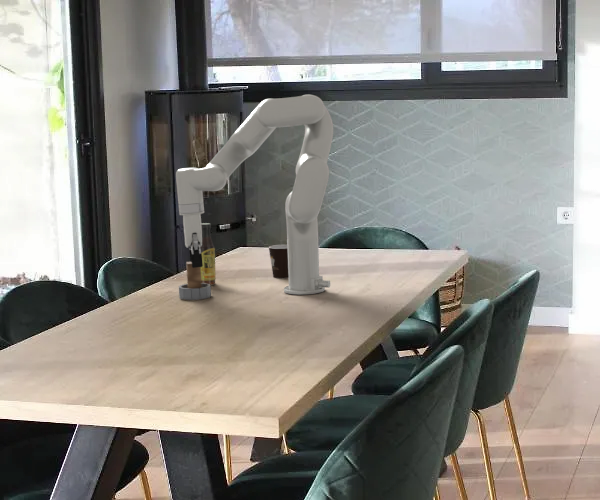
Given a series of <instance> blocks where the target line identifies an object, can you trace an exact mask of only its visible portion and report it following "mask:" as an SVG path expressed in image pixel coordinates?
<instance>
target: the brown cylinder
mask: <svg viewBox="0 0 600 500" xmlns="http://www.w3.org/2000/svg"><path fill="white" fill-rule="evenodd" d="M185 264H186V266H185V267H186V280H187V281H186V282H187V283H186V284H187V286H188V288H202V286H201V267H196V268H193V267H192V262H190V261H186V263H185Z"/></svg>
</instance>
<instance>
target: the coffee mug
mask: <svg viewBox="0 0 600 500" xmlns="http://www.w3.org/2000/svg"><path fill="white" fill-rule="evenodd" d="M268 250H269V257H270V265H271V271H272V277H273V278H274V279H275V278H276V279H287V278H288V279H289V276H288V249H287V244H275V245H270V246H268Z"/></svg>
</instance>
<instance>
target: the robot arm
mask: <svg viewBox="0 0 600 500" xmlns="http://www.w3.org/2000/svg"><path fill="white" fill-rule="evenodd" d="M297 126H304V136H303V141H302V145H301V149H300V154H299V157H298V159H297V163H296V166H295V180H294V184H293V186H292V187H293V188H292V191H291V192H289V194H288V195H287V196H286V199H285V205H284V207H285V219H286V220H285V221H286V223H285V224H286V238H287V239H286V243H287V244H286V245H287V249H288V276H289V278H288V285H287V286H284V287H283V292H284V293H286V294H290V295H300V296H301V295H303V296H304V295H314V294H320V293H323V292H324V291H325V290H326V288H330V287H331V280H324V278H323V275H320V255H319V254H320V253H319V252H320V251H319V224H318V223H319V222H318V215H319V213H320V211H321V209H322V204H323V201H324V197H325V194H326V189H327V186H328V182H329V177H330V168H329V166H328V160H329V157H330V156H329V155H330V152H331V147H332V142H333V137H334V124H333V120H332V116H331V114H330V112H329V110H328V109H327V107H326V106H325V103H324V101H323V100H322V98H320V97H319V96H317V95H314V94H303V95H299V96H291V97H282V98H280V97H279V98H272V97H271V98H265V99H263V100H261V102H260V103H258V105H256V107H255V108H254V109H253V111H252V112H251V113H250V114H249V115H248V116H247V118H246V119H245V120H244V121H243V122H242V123H241V125H240V126H239V127H238V128H237V129H236V130H235V131H234V133H233V134H232V135H231V136H230V137H229V139H228V141H226V143H225V144H223V146H222V148H221V149H220V150H219V151H218V152H217V153H216V154H215V155H214V156H213V158H212V159H211V160H210V161H209V163H208V164H206V166H205V167H202V168H198V167H183V168H179V169H177V170H176V172H175V179H176V181H175V182H176V192H177V201H178V202H177V203H178V211H179V212H178V213H179V216H182V224H183V235H184V246H185V247H186V248H188V250H189V262H192V267H193V268H196V267H202V266H203V263H202V253H201V249H200V247H201V246H202V226H201V223H202V218H201V217H202V216H201V215H202V214H204V213H205V207H204V206H205V205H204V196H203V195H204V194H203V191H204V192H205V191H206V192H217V191H221V190H222V189H223V188H224V187H225V186H226V184H227V181H228V178H230V176H231V175H232V174H233V173H234V172H235V171H236V170H237V169H238V167H239V166H240V165H241V164H242V163H243V162H245V160H246V159H248V158H249V157H251V156H252V155H254V154H255V152H257V150H259V148H260V147H261V146H262V145H263V143H265V141H266V140H268V138H269V137H270V136H271V134H272V133H273V132H274V131H275V130H276V128H287V127H297Z"/></svg>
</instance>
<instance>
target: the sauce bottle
mask: <svg viewBox="0 0 600 500" xmlns="http://www.w3.org/2000/svg"><path fill="white" fill-rule="evenodd" d="M201 226H202V246H201V247H200V249H201V253H202V263H203V266H202V267H201V283H207V284H210V285H211V286H213V285H215V284H216V247H215V245H214V243H213V239H212V235H211V228H212V224H211V223H209V222H208V223H207V222H205V223H204V222H203V223H202V222H201Z"/></svg>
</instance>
